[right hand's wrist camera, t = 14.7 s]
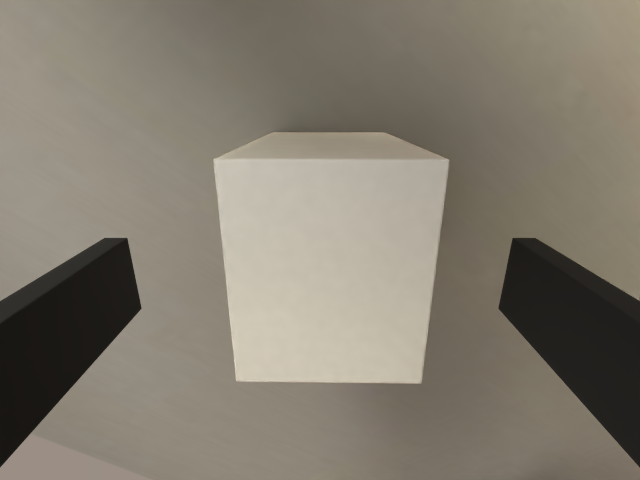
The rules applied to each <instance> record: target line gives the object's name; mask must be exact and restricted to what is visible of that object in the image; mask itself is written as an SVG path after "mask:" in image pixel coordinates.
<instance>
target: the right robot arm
mask: <svg viewBox="0 0 640 480" xmlns="http://www.w3.org/2000/svg"><path fill="white" fill-rule="evenodd" d="M140 310H141V304H140V299H139V294H138V289H137V284H136V279H135V274H134V269H133V264H132V259H131V254H130V249H129V244H128V240H127V238H104V239H102V240H101V241H99V242H97V243H96V244H94V245H92V246H91V247H89V248H87V249H86V250H84V251H83V252H81V253H79V254H78V255H76V256H74V257H73V258H71V259H69V260H68V261H66V262H64V263H63V264H61V265H59V266H58V267H56V268H54V269H53V270H51V271H50V272H48V273H46V274H45V275H43V276H41V277H40V278H38V279H36V280H35V281H33V282H31V283H30V284H28V285H26V286H25V287H23V288H21V289H20V290H18V291H16V292H15V293H13V294H12V295H10V296H8V297H7V298H5V299H3V300H2V301H0V467H1V466H2V465H3V464H4V463H5V461H6V460H7V459H8V458H9V457H10V456H11V455H12V454H13V452H14V451H15V450H16V449H17V448H18V447H19V446H20V444H21V443H22V442H23V441H24V440H25V439H26V438H27V437H28V436H29V434H30V433H31V432H32V431H33V430H34V429H35V428H36V427H37V425H38V424H39V423H40V422H41V421H42V420H43V419H44V418H45V416H46V415H47V414H48V413H49V412H50V411H51V410H52V409H53V407H54V406H55V405H56V404H57V403H58V402H59V401H60V400H61V398H62V397H63V396H64V395H65V394H66V393H67V392H68V391H69V389H70V388H71V387H72V386H73V385H74V384H75V383H76V382H77V380H78V379H79V378H80V377H81V376H82V375H83V374H84V373H85V371H86V370H87V369H88V368H89V367H90V366H91V365H92V364H93V362H94V361H95V360H96V359H97V358H98V357H99V356H100V355H101V353H102V352H103V351H104V350H105V349H106V348H107V347H108V346H109V344H110V343H111V342H112V341H113V340H114V339H115V338H116V337H117V335H118V334H119V333H120V332H121V331H122V330H123V329H124V328H125V326H126V325H127V324H128V323H129V322H130V321H131V320H132V319H133V317H134V316H135V315H136V314H137V313H138V312H139V311H140ZM499 310H500V311H501V312H502V313H503V314H504V315H505V316H506V317H507V319H508V320H509V321H510V322H511V323H512V324H513V325H514V326H515V328H516V329H517V330H518V331H519V332H520V333H521V334H522V335H523V337H524V338H525V339H526V340H527V341H528V342H529V343H530V344H531V346H532V347H533V348H534V349H535V350H536V351H537V352H538V353H539V355H540V356H541V357H542V358H543V359H544V360H545V361H546V362H547V364H548V365H549V366H550V367H551V368H552V369H553V370H554V371H555V373H556V374H557V375H558V376H559V377H560V378H561V379H562V380H563V382H564V383H565V384H566V385H567V386H568V387H569V388H570V389H571V391H572V392H573V393H574V394H575V395H576V396H577V397H578V398H579V400H580V401H581V402H582V403H583V404H584V405H585V406H586V407H587V409H588V410H589V411H590V412H591V413H592V414H593V415H594V416H595V418H596V419H597V420H598V421H599V422H600V423H601V424H602V425H603V427H604V428H605V429H606V430H607V431H608V432H609V433H610V434H611V436H612V437H613V438H614V439H615V440H616V441H617V442H618V443H619V445H620V446H621V447H622V448H623V449H624V450H625V451H626V452H627V454H628V455H629V456H630V457H631V458H632V459H633V460H634V461H635V463H636V464H637V465H638V466H639V467H640V301H638V300H637V299H635V298H633V297H632V296H630V295H628V294H627V293H625V292H624V291H622V290H620V289H619V288H617V287H615V286H614V285H612V284H610V283H609V282H607V281H605V280H604V279H602V278H600V277H599V276H597V275H595V274H594V273H592V272H590V271H589V270H587V269H586V268H584V267H582V266H581V265H579V264H577V263H576V262H574V261H572V260H571V259H569V258H567V257H566V256H564V255H562V254H561V253H559V252H557V251H556V250H554V249H553V248H551V247H549V246H548V245H546V244H544V243H543V242H541V241H539V240H538V239H536V238H513V240H512V244H511V249H510V254H509V259H508V264H507V269H506V274H505V279H504V284H503V289H502V294H501V299H500V304H499Z"/></svg>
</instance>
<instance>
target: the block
mask: <svg viewBox="0 0 640 480" xmlns="http://www.w3.org/2000/svg"><path fill="white" fill-rule="evenodd" d="M449 163H450V161H449V159H446V158H444V157H442V156H439V155H437V154H435V153H432V152H430V151H428V150H425V149H423V148H420V147H418V146H416V145H413V144H411V143H409V142H406V141H404V140H401V139H399V138H397V137H394V136H392V135H390V134H387V133H385V132H272V133H270V134H268V135H265V136H263V137H261V138H259V139H257V140H255V141H252V142H250V143H248V144H246V145H244V146H242V147H239V148H237V149H235V150H233V151H231V152H229V153H226V154H224V155H222V156H220V157H218V158H215V159H214V170H215V180H216V189H217V199H218V209H219V218H220V228H221V238H222V247H223V257H224V267H225V276H226V286H227V296H228V305H229V315H230V325H231V334H232V344H233V354H234V363H235V373H236V381H238V382H318V383H405V384H421V383H422V376H423V368H424V361H425V353H426V345H427V337H428V329H429V321H430V313H431V305H432V297H433V289H434V281H435V274H436V266H437V258H438V250H439V242H440V234H441V226H442V218H443V210H444V202H445V194H446V187H447V179H448V171H449Z"/></svg>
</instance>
